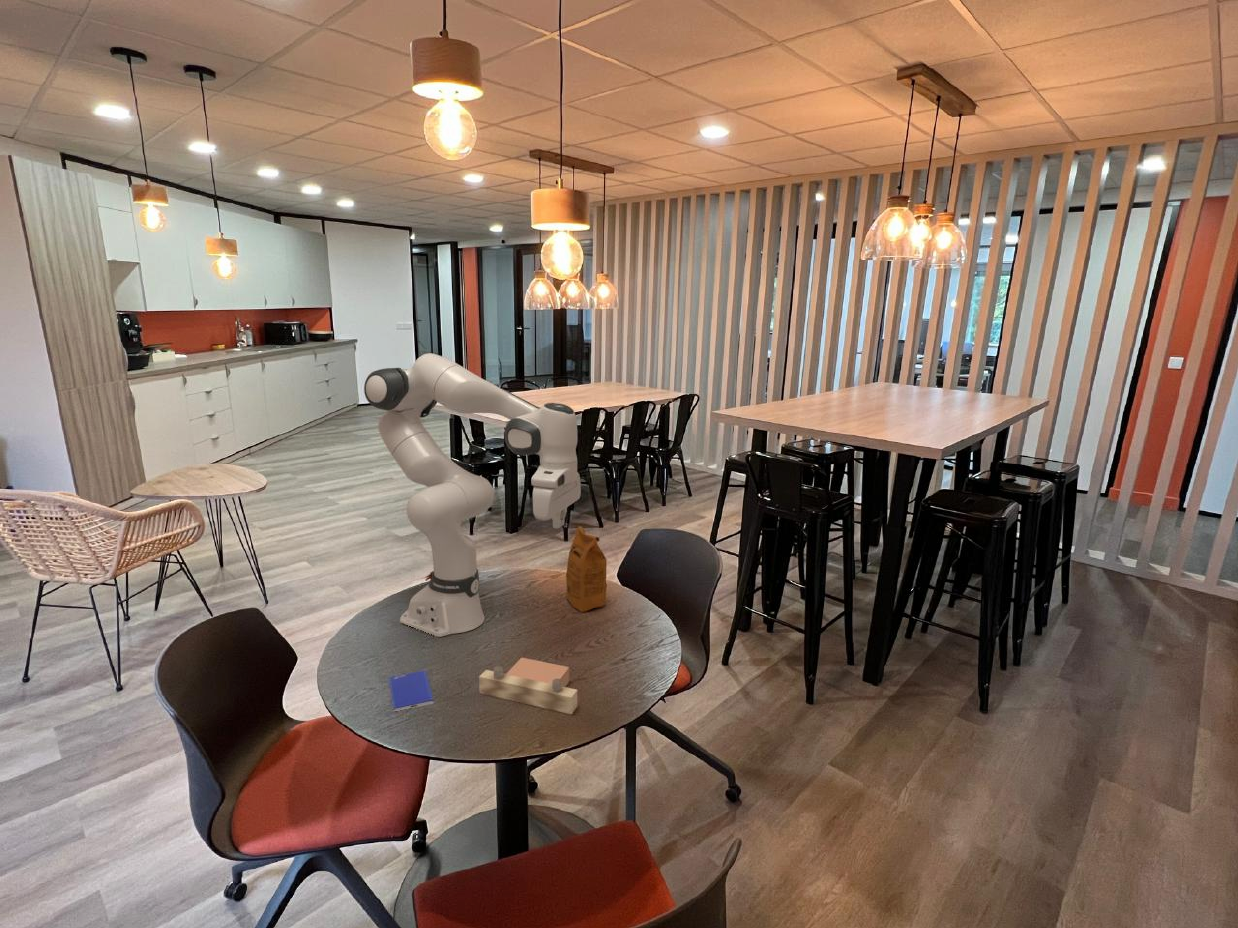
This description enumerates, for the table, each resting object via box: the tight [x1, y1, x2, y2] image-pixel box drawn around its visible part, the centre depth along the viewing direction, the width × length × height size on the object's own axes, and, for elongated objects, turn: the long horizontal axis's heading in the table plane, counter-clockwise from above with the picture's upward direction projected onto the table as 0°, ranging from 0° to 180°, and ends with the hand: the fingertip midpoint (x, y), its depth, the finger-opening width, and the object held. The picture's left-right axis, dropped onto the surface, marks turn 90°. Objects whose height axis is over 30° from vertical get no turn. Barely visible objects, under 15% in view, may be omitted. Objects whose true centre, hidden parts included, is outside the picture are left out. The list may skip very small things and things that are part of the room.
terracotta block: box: [506, 657, 570, 687], centre depth 142 cm, size 12×8×4 cm, turn 71°
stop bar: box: [478, 665, 578, 715], centre depth 136 cm, size 22×3×6 cm, turn 71°
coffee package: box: [565, 526, 608, 613], centre depth 181 cm, size 10×12×22 cm
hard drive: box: [388, 670, 435, 712], centre depth 139 cm, size 2×8×12 cm
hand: (558, 526), depth 154 cm, fingers closed
